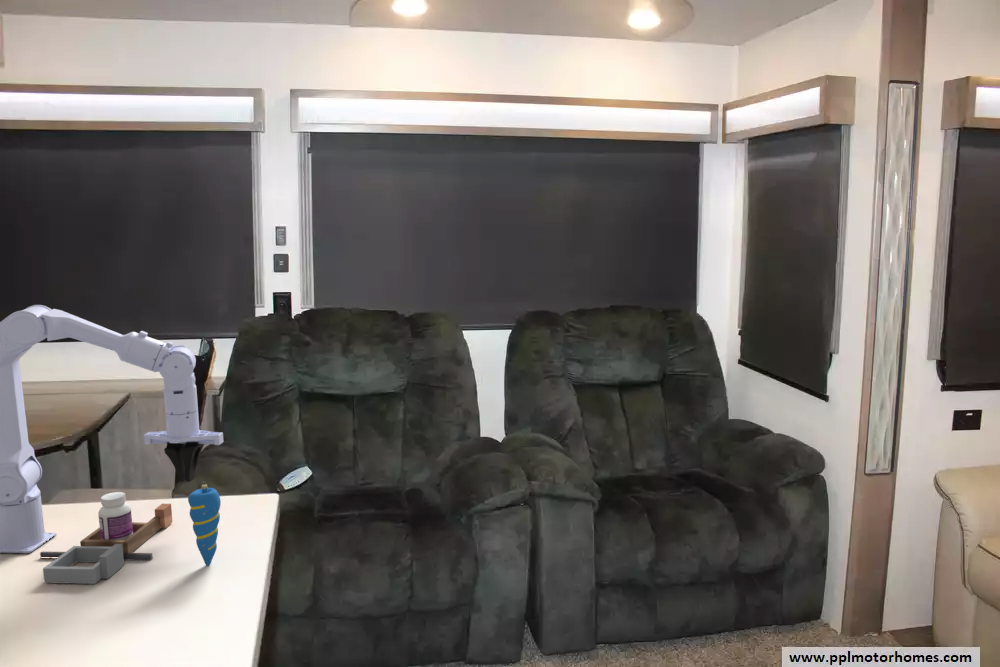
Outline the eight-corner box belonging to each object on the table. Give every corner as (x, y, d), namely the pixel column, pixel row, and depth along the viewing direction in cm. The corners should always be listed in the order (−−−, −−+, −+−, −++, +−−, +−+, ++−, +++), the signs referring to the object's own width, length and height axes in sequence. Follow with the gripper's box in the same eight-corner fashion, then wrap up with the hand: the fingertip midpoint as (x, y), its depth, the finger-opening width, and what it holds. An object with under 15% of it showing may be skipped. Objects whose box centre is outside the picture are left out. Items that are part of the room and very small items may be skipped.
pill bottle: (140, 540, 145) (135, 490, 144) (123, 552, 140) (119, 501, 139) (112, 539, 146) (108, 489, 144) (95, 551, 141) (90, 500, 139)
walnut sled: (81, 554, 139) (79, 534, 138) (125, 521, 154) (123, 503, 153) (133, 555, 138) (131, 535, 138) (172, 522, 153) (171, 503, 152)
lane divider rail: (40, 558, 138) (40, 552, 138) (42, 556, 139) (42, 551, 139) (151, 560, 137) (150, 554, 137) (152, 558, 138) (152, 553, 137)
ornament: (186, 567, 134) (179, 484, 132) (210, 556, 138) (204, 474, 136) (207, 574, 132) (201, 488, 129) (231, 561, 136) (225, 479, 134)
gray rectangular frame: (44, 582, 129) (42, 561, 128) (75, 559, 137) (73, 538, 136) (102, 583, 128) (100, 561, 127) (129, 560, 137) (127, 539, 136)
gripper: (133, 416, 144) (139, 486, 146) (210, 416, 143) (215, 487, 146) (152, 406, 151) (157, 474, 153) (225, 407, 150) (230, 474, 152)
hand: (187, 480), depth 150 cm, fingers closed
